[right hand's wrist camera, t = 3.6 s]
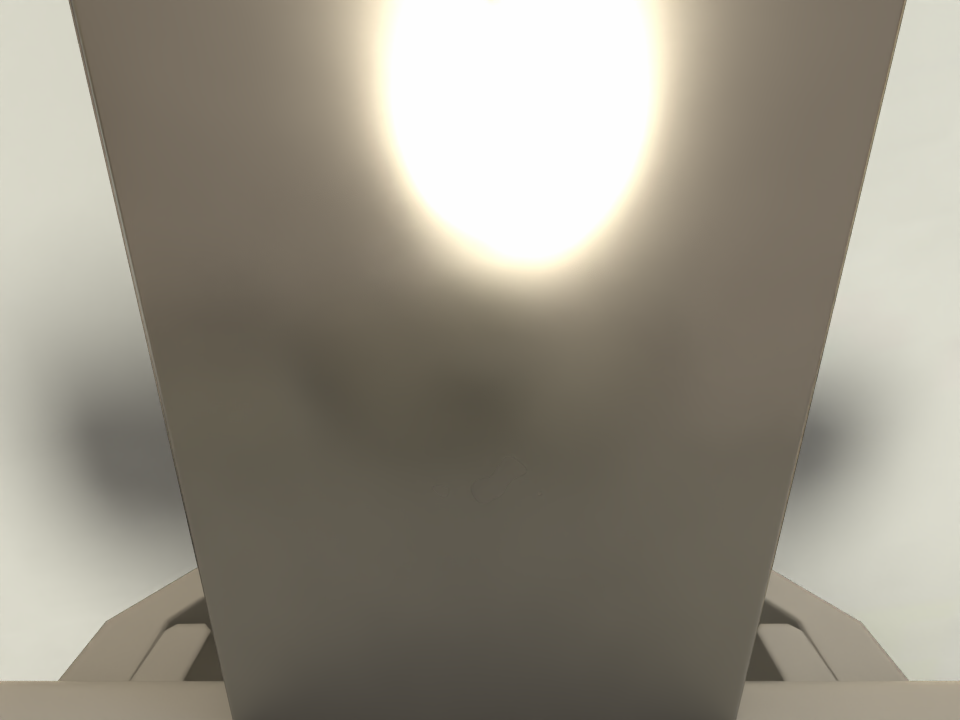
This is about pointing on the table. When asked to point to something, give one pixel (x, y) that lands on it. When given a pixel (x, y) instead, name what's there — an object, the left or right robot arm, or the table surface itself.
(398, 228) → the bar
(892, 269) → the table surface
